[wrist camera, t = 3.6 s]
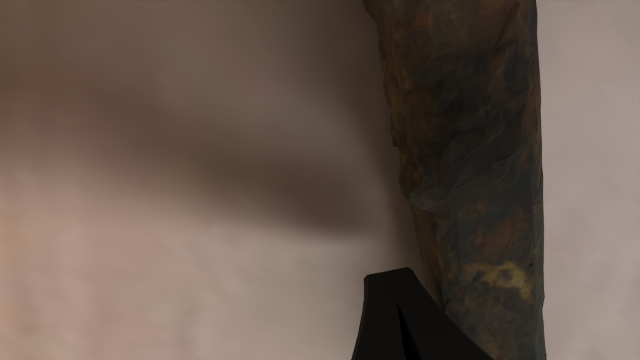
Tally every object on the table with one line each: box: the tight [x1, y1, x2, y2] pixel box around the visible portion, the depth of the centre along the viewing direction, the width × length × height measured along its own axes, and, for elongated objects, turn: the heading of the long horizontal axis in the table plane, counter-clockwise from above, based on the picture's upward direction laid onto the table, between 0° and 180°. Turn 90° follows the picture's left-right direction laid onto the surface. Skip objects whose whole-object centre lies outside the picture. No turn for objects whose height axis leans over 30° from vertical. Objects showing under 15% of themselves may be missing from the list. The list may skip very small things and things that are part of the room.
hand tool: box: [363, 0, 547, 360], centre depth 14 cm, size 19×4×5 cm, turn 11°
